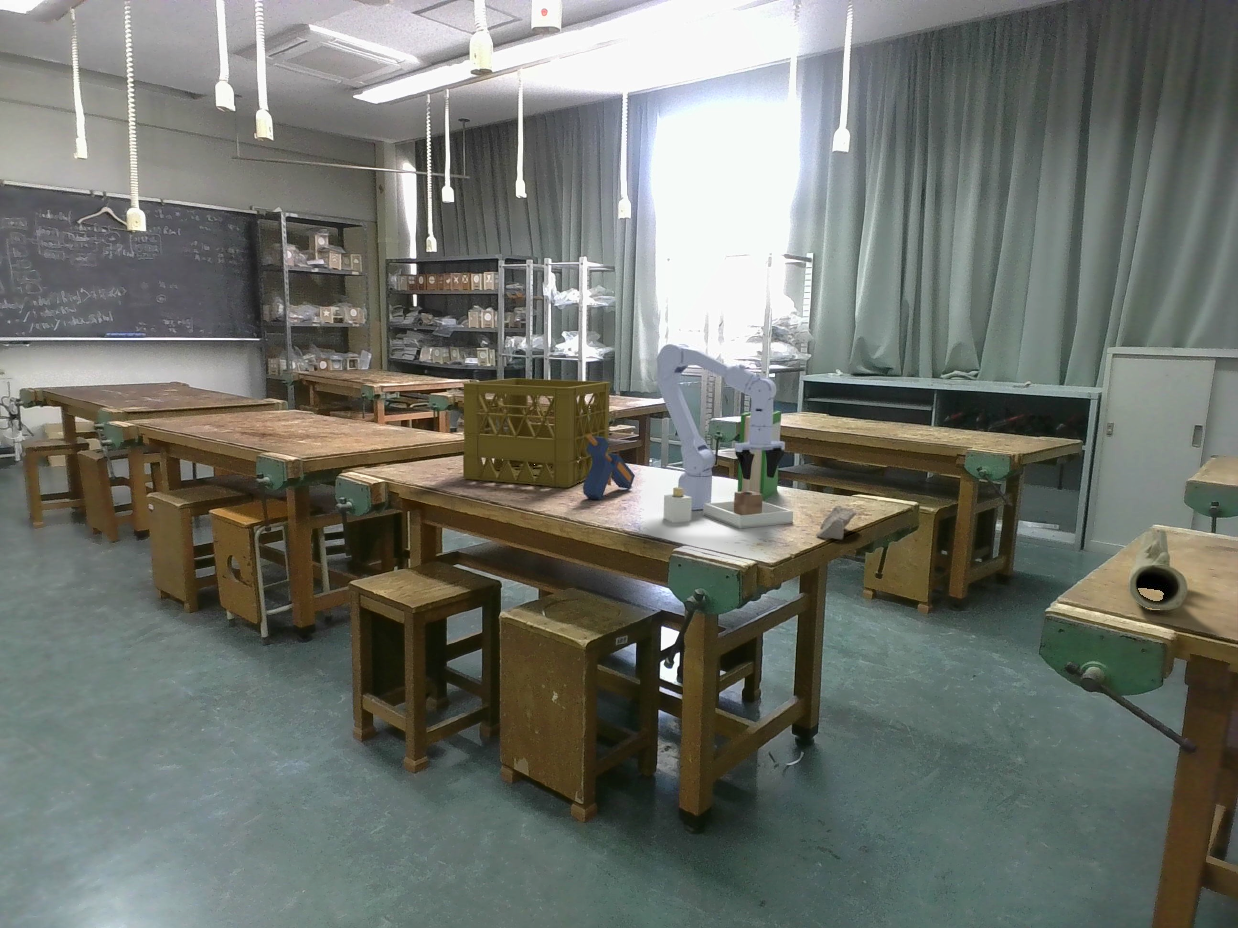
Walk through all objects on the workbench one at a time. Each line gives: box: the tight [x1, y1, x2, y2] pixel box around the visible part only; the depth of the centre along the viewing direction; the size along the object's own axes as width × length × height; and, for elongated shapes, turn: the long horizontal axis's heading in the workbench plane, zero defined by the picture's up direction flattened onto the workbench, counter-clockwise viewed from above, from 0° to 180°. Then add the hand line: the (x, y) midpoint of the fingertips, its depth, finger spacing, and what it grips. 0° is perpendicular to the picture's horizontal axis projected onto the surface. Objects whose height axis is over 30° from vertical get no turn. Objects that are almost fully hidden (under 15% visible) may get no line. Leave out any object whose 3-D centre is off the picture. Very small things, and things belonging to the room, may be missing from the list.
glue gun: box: [582, 433, 636, 501], centre depth 224 cm, size 6×31×15 cm
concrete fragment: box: [815, 505, 858, 540], centre depth 186 cm, size 7×14×6 cm, turn 146°
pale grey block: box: [663, 486, 692, 524], centre depth 197 cm, size 5×5×8 cm
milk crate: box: [461, 377, 612, 489], centre depth 254 cm, size 36×35×30 cm
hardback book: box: [737, 410, 782, 502], centre depth 230 cm, size 18×7×24 cm, turn 156°
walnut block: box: [733, 491, 763, 515], centre depth 199 cm, size 5×5×6 cm
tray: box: [702, 500, 794, 530], centre depth 200 cm, size 16×16×3 cm
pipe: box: [1127, 529, 1188, 611], centre depth 145 cm, size 28×8×10 cm, turn 153°
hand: (758, 478), depth 204 cm, fingers open, 7 cm apart
